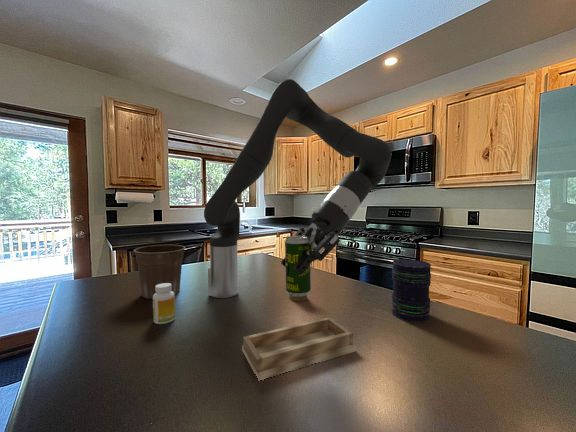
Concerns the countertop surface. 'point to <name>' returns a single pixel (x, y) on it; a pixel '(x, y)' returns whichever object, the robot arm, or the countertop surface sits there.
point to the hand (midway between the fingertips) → (290, 268)
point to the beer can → (293, 254)
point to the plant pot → (159, 267)
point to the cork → (298, 298)
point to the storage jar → (411, 290)
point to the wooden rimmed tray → (296, 346)
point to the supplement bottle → (163, 304)
